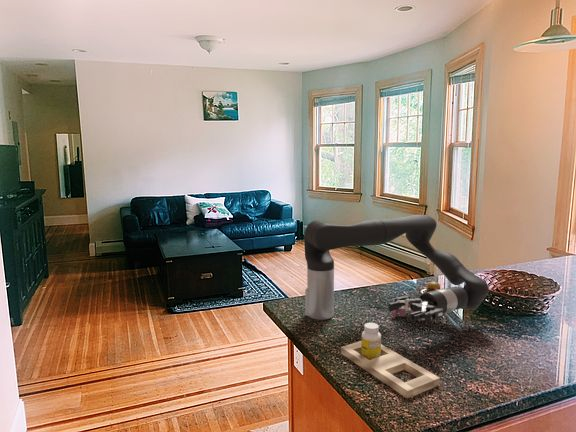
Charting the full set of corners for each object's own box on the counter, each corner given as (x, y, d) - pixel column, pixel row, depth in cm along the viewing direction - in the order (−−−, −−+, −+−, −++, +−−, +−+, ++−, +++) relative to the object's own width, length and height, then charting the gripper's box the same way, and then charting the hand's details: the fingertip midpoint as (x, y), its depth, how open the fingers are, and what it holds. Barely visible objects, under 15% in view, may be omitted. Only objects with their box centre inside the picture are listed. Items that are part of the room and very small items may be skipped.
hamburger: (413, 289, 180) (414, 277, 179) (443, 290, 179) (444, 277, 178) (421, 300, 168) (421, 286, 167) (452, 300, 167) (453, 286, 166)
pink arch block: (421, 322, 150) (422, 302, 152) (421, 321, 146) (422, 300, 148) (392, 319, 153) (393, 299, 155) (391, 318, 149) (392, 297, 151)
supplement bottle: (359, 354, 126) (359, 321, 124) (377, 353, 126) (378, 321, 124) (363, 363, 120) (364, 330, 119) (383, 362, 121) (384, 329, 119)
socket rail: (340, 353, 126) (340, 347, 126) (370, 344, 131) (370, 338, 131) (407, 398, 104) (407, 390, 104) (439, 385, 109) (439, 377, 109)
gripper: (421, 284, 140) (383, 292, 132) (458, 297, 128) (418, 308, 120) (420, 306, 141) (382, 316, 133) (456, 322, 129) (417, 333, 121)
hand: (399, 312), depth 127 cm, fingers open, 8 cm apart
